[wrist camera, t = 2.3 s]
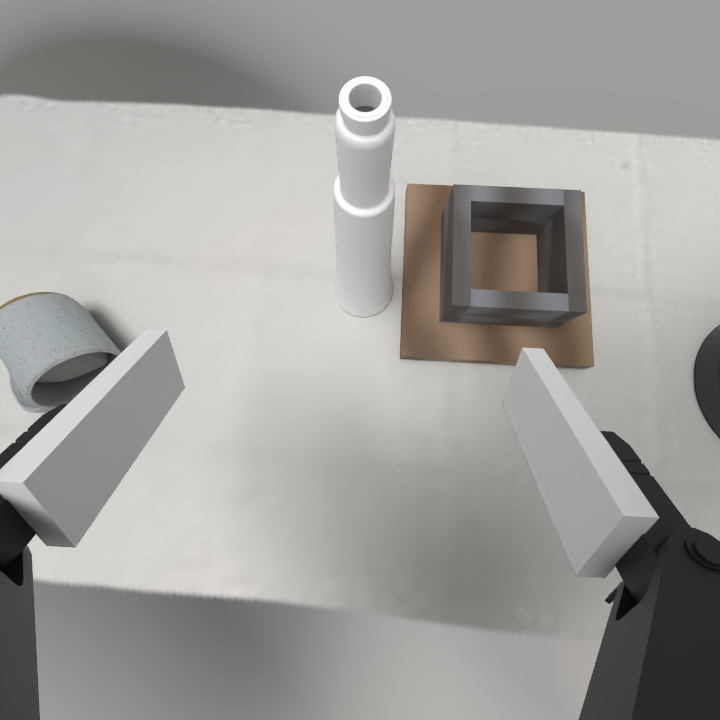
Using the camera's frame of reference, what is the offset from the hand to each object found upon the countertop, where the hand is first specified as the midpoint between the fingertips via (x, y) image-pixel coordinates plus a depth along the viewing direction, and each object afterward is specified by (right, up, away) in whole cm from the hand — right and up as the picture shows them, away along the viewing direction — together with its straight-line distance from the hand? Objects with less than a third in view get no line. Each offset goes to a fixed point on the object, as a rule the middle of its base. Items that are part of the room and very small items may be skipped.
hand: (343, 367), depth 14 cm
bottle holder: (+14, +9, +23) cm, 28 cm away
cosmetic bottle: (+1, +8, +23) cm, 24 cm away
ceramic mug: (-27, 0, +22) cm, 35 cm away
